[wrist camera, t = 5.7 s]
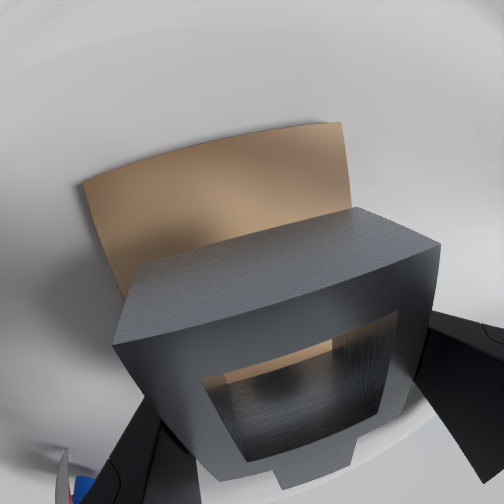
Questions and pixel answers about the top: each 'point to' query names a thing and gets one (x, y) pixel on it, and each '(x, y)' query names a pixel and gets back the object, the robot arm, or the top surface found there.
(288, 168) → the board
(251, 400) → the link
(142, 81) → the top surface
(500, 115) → the top surface
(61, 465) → the toy rocket
